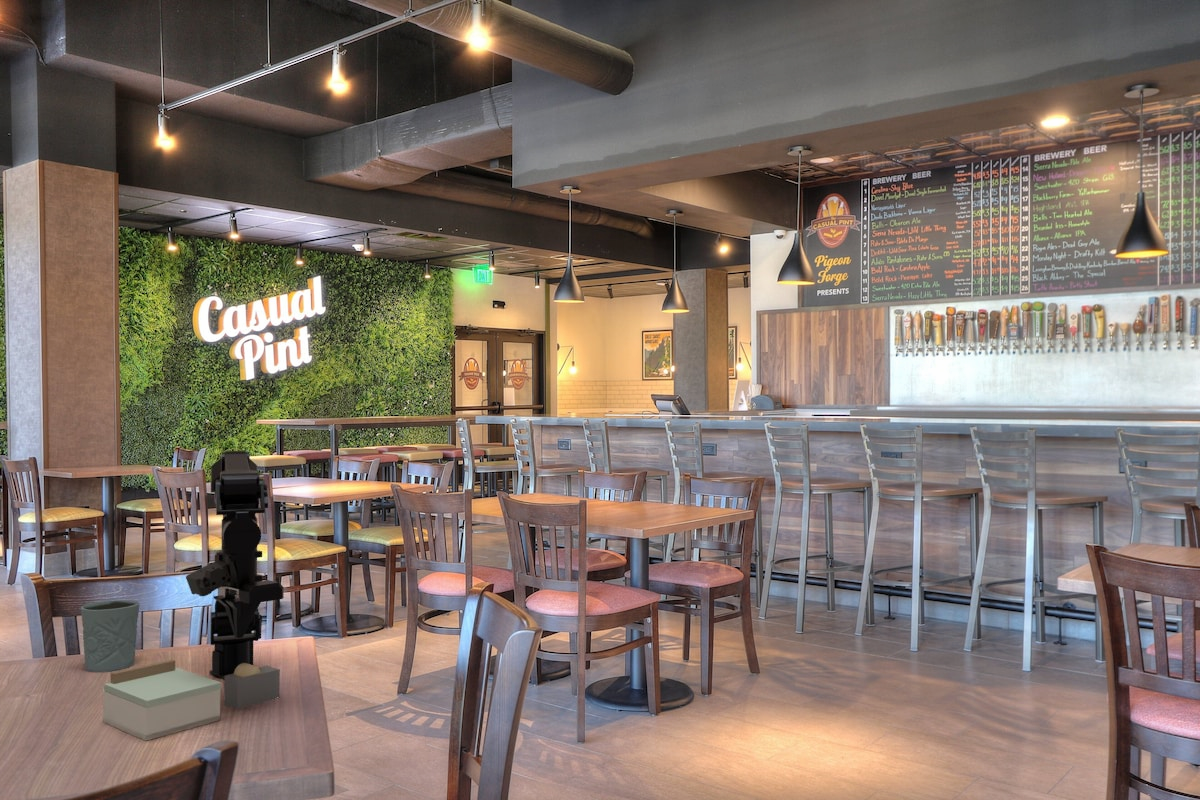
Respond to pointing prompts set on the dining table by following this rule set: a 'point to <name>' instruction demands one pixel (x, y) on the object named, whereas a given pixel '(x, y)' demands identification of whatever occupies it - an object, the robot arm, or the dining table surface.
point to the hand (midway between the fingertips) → (239, 637)
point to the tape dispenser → (251, 685)
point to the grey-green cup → (109, 634)
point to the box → (160, 714)
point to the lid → (158, 684)
